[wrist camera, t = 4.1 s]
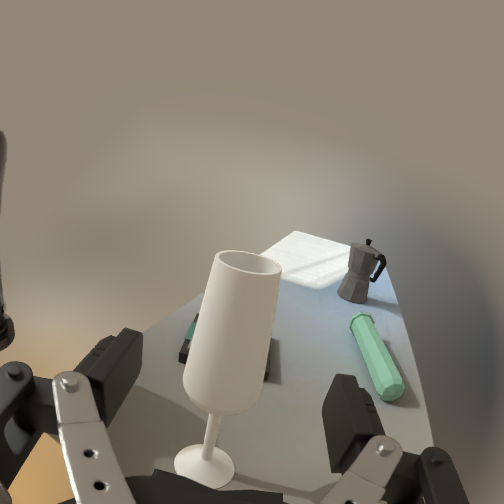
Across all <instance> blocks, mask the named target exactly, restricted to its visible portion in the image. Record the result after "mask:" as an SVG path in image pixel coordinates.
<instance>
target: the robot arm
mask: <svg viewBox="0 0 504 504" xmlns="http://www.w3.org/2000/svg"><path fill="white" fill-rule="evenodd" d="M6 160H7V139H6V136H5V134H4V132H3V131H1V130H0V214H1V206H2V191H3V182H4V175H5V168H6ZM0 266H1V265H0ZM5 308H6V305H5V302H4V299H3V289H2V279H1V267H0V336H1V335H2V334H3V333H4V332H5V331H6V329H7V319H6V315H5ZM142 348H143V334H142V333H141V332H138V331H135V330H132V329H128V328H124V329H123V330H122V331H121V332H120V333H119V335H118V336H117V337H115V336H112V335H110V336H108V337H106V338H104V339H102V340H100V341H99V342H98V344H97V345H96V346H95V348H93V349H92V350H91V351H90V353H89V354H88V355H87V356H86V357H85V358H84V359H83V360H82V361H81V362H80V363H79V365H78V366H77V367H76V368H75V369H74V370H73V371H66V372H62V373H60V374H58V375H56V376H55V377H54V379H46V378H41V377H36V376H33V373H32V370H31V368H30V367H29V366H28V365H27V364H25V363H23V362H18V361H15V362H8V363H6V364H4V365H3V366H2V367H1V368H0V504H12V499H11V496H10V494H9V493H8V491H7V490H8V488H9V487H10V485H11V483H12V482H13V480H14V478H15V477H16V475H17V473H18V472H19V470H20V468H21V466H22V465H23V463H24V462H25V460H26V459H27V457H28V456H29V454H30V452H31V451H32V449H33V447H34V446H35V444H36V443H37V441H38V440H39V438H40V437H41V435H42V434H43V432H45V433H50V434H55V435H59V438H60V443H61V447H62V452H63V456H64V460H65V464H66V468H67V472H68V476H69V479H70V483H71V487H72V490H73V493H74V497H75V498H72V499H70V500H67V501H64V502H62V503H58V504H288V503H286V502H283V493H274V492H266V491H258V490H233V491H218V490H215V489H212V488H210V487H207V486H205V485H203V484H200V483H198V482H196V481H194V480H192V479H189V478H187V477H184V476H180V475H176V474H173V473H169V472H165V471H162V470H158V469H155V470H154V473H153V475H152V476H132V477H126V478H125V477H124V475H123V473H122V470H121V468H120V465H119V463H118V460H117V458H116V455H115V453H114V450H113V447H112V445H111V442H110V439H109V436H108V434H107V431H106V428H105V427H107V428H108V426H109V424H110V423H111V421H112V419H113V418H114V416H115V414H116V413H117V411H118V409H119V407H120V406H121V404H122V402H123V401H124V399H125V397H126V396H127V394H128V392H129V391H130V389H131V387H132V386H133V384H134V382H135V381H136V379H137V378H138V376H139V373H140V370H141V366H142ZM322 417H323V423H324V429H325V435H326V442H327V448H328V454H329V461H330V467H331V473H342V477H341V478H340V479H339V481H338V482H337V483H336V484H335V485H334V487H333V488H332V489H331V490H330V491H329V493H328V494H327V495H326V496H325V497H324V498H323V500H322V501H321V502H320V503H319V504H378V503H379V501H380V500H383V501H387V503H388V504H424V500H423V496H424V499H425V503H426V504H469V502H468V499H467V497H466V494H465V491H464V489H463V486H462V484H461V481H460V479H459V476H458V474H457V471H456V469H455V467H454V464H453V462H452V460H451V457H450V456H449V455H448V453H447V452H445V451H444V450H442V449H440V448H438V447H428V448H426V449H425V450H424V451H423V452H422V453H421V455H416V454H412V453H408V452H404V451H403V449H402V447H401V445H400V444H399V443H398V442H397V441H396V440H395V439H393V438H391V437H389V436H386V435H385V432H384V429H383V427H382V424H381V421H380V418H379V416H378V413H377V410H376V408H375V406H374V402H373V400H372V397H371V395H370V394H369V393H368V392H367V391H366V390H365V389H364V388H359V385H358V383H357V380H356V377H355V376H353V375H345V374H336V375H335V377H334V379H333V382H332V384H331V386H330V389H329V391H328V393H327V396H326V398H325V400H324V403H323V407H322Z"/></svg>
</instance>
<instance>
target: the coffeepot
mask: <svg viewBox="0 0 504 504" xmlns="http://www.w3.org/2000/svg"><path fill="white" fill-rule="evenodd" d="M371 241H372V240H370V239H367V240H366V244H356V243H352V244H351V248H350V256H349V263H348V267H349V270H348V273H347V274H346V275H345V277H344V279H343V281H342V283H341V285H340V287H339V289H338V291H337V292H338V295H339V296H340V297H342V298H343V299H345V300H347V301H350V302H354V303H364V302H365V301H366V300H367V294H368V288H369V282H370V281H371V282H375V281H376V280H377V278H378V277H379V275H380V274H381V272H382V271H383V269H384V268H385V266H386V259H385V256H384V255H382V254H381V253H380V252H379V251H377V250H376V249H374V248H373V247H371V246H370V244H371ZM378 261H380V262H381V263H380V265H379V267H378V270H377V271H376V272H375V274H374V277H373V278H371V277H370V275H371V274H372V273H373V271H374V269H375V267H376V265H377V263H378ZM369 277H370V278H369ZM369 280H370V281H369Z"/></svg>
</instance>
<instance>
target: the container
mask: <svg viewBox="0 0 504 504" xmlns="http://www.w3.org/2000/svg"><path fill="white" fill-rule="evenodd" d="M349 328H350V330H351V331H352V333H353V335H355V337H356V340H357V342H358V345H359V347H360V350H361V352H362V355H363V357H364V360H365V362H366V365H367V367H368V370H369V372H370V375H371V377H372V380H373V383H374V385H375V388H376V390H377V393H378V394H379V396H380V398H381V399H382V400H384V401H394V400H396V399H397V398H399V397H401V395H402V393H403V391H404V389H405V384H404V382H403V380H402V378H401V376H400V374H399V372H398V370H397V368H396V366H395V364H394V362H393V360H392V358H391V356H390V354H389V352H388V350H387V349H386V347H385V345H384V343H383V341H382V339H381V337H380V335H379V334H378V332H377V330H376V328H375V326H374V321H373V319H372V317H371V315H370V313H364V312H359V313H358V314H356V315H354V316H352V318H351V320H350V323H349Z"/></svg>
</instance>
